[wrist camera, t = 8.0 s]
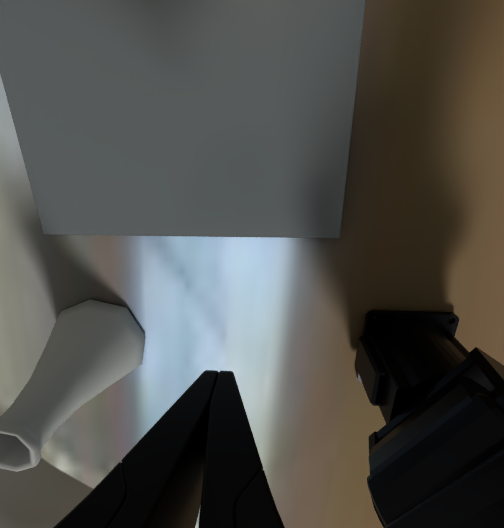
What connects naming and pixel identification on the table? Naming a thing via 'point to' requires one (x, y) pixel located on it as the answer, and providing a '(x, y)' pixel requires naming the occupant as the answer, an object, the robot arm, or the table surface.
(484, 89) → the table surface
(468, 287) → the table surface
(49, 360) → the flask
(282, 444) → the table surface
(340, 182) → the slate board
